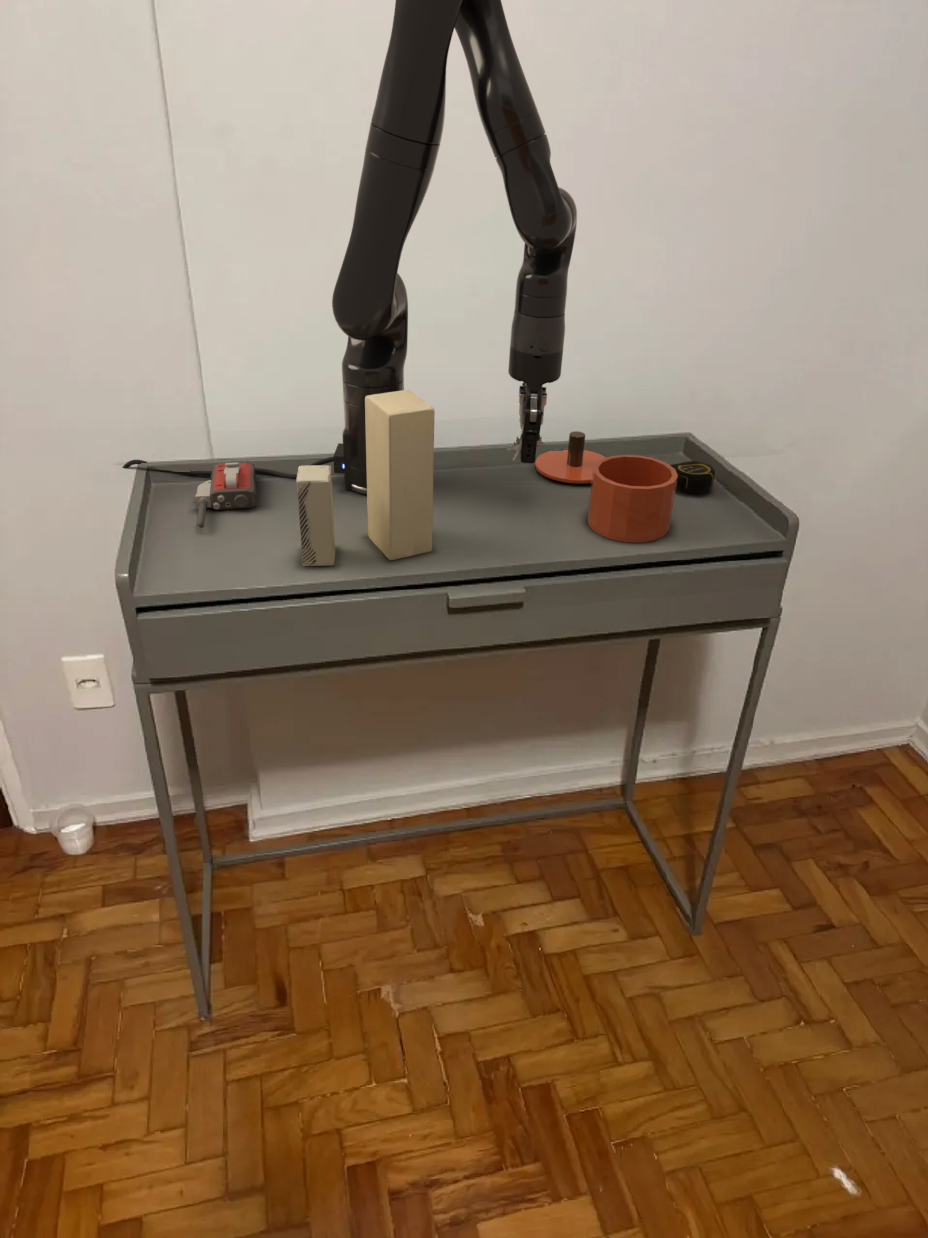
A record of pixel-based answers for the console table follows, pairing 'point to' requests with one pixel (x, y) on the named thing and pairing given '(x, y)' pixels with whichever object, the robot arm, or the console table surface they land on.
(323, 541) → the box
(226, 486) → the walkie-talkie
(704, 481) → the tape measure
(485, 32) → the robot arm
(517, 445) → the stegosaurus
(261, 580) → the console table surface
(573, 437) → the lid
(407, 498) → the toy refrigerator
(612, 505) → the pot
